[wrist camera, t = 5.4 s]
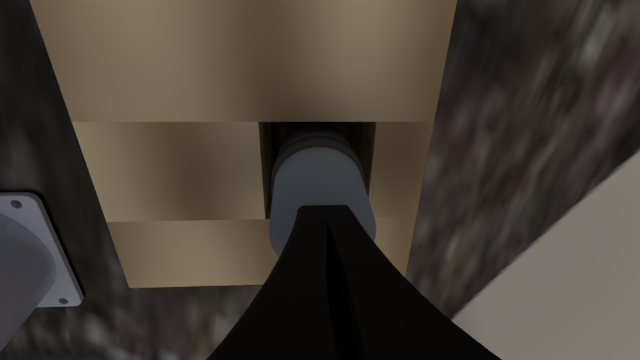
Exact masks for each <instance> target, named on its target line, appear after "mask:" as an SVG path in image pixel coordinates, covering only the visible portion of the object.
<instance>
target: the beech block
mask: <svg viewBox="0 0 640 360" xmlns="http://www.w3.org/2000/svg"><path fill="white" fill-rule="evenodd" d="M30 3H31V6H32V9H33V11H34V14H35V17H36V20H37V23H38V26H39V29H40V32H41V35H42V37H43V40H44V43H45V46H46V49H47V52H48V55H49V58H50V61H51V63H52V66H53V69H54V72H55V75H56V78H57V81H58V84H59V86H60V89H61V92H62V95H63V98H64V101H65V104H66V107H67V110H68V112H69V115H70V118H71V121H72V124H73V127H74V130H75V133H76V136H77V138H78V141H79V144H80V147H81V150H82V153H83V156H84V159H85V162H86V164H87V167H88V170H89V173H90V176H91V179H92V182H93V185H94V187H95V190H96V193H97V196H98V199H99V202H100V205H101V208H102V211H103V213H104V216H105V219H106V222H107V225H108V228H109V231H110V234H111V237H112V239H113V242H114V245H115V248H116V251H117V254H118V257H119V260H120V262H121V265H122V268H123V271H124V274H125V277H126V280H127V283H128V286H129V288H146V287H184V286H221V285H259V284H264V283H265V281H266V280H267V278H268V276H269V275H270V273H271V271H272V269H273V268H274V266H275V264H276V262H277V261H278V259H279V257H278V256H277V254H276V253H275V252H274V250H273V248H272V246H271V243H270V239H269V224H270V216H271V207H272V199H273V197H272V193H271V177H272V170H273V166H274V163H275V162H273V150H272V131H271V122H353V131H352V146H351V147H352V149H353V151H354V152H355V153H356V155H357V156H358V158H359V160H360V163H361V166H362V169H363V172H364V175H365V189H366V193H367V196H368V199H369V202H370V205H371V208H372V211H373V214H374V217H375V221H376V236H375V240H374V242H375V244H376V245H377V246H378V247H379V248H380V250H381V251H382V252H383V253H384V255H385V256H386V257H387V258H388V259H389V260H390V262H391V263H392V264H393V265H394V266H395V267H396V268H397V269H398V271H399V272H400V273H401V274H402V275H403V276H404V277H405V274H406V269H407V263H408V258H409V253H410V248H411V242H412V237H413V232H414V226H415V221H416V216H417V210H418V205H419V200H420V194H421V189H422V184H423V178H424V173H425V168H426V163H427V157H428V152H429V147H430V141H431V136H432V131H433V125H434V120H435V115H436V109H437V104H438V99H439V93H440V88H441V83H442V78H443V72H444V67H445V62H446V56H447V51H448V46H449V40H450V35H451V30H452V24H453V19H454V14H455V8H456V3H457V0H30Z"/></svg>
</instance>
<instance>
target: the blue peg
mask: <svg viewBox="0 0 640 360" xmlns="http://www.w3.org/2000/svg"><path fill="white" fill-rule="evenodd" d="M271 193H272V197H273V199H272V207H271V216H270V224H269V239H270V243H271V246H272V248H273V250H274V252H275V253H276V254H277V256H278V257H280V255H281V253H282V251H283V249H284V247H285V245H286V242H287V240H288V238H289V236H290V234H291V231H292V229H293V226H294V223H295V220H296V216H297V211H298V209H299V208H300V207H301V206H310V205H347V206H348V207H349V208H350V209H351V210H352V212H353V213H354V215H355V216H356V218H357V219H358V221H359V222H360V224H361V225H362V226H363V228H364V229H365V231H366V232H367V233H368V235H369V236H370V237H371V239H372V240H373V241H374V240H375V236H376V221H375V217H374V214H373V211H372V208H371V205H370V202H369V199H368V196H367V193H366V189H365V175H364V172H363V169H362V166H361V163H360V160H359V158H358V156H357V155H356V153H355V152H354V151H353V149H352V147H351V144H350V143H349V141H348V140H347V139H346V137H345V136H344V135H342V134H341V133H340V132H338V131H337V130H335V129H333V128H330V127H327V126H322V125H311V126H306V127H303V128H300V129H298V130H296V131H294V132H293V133H291V134H290V135H289V136H288V137H287V138H286V139H285V140H284V142H283V143H282V145H281V147H280V149H279V152H278V157H277V159H276V161H275V163H274V166H273V170H272V177H271Z"/></svg>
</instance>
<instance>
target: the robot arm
mask: <svg viewBox="0 0 640 360" xmlns="http://www.w3.org/2000/svg"><path fill="white" fill-rule="evenodd" d="M16 200H17V201H19V202H20V203H21V204H20V203H18V202H17V201H16ZM83 299H84V296H83V294H82V292H81V289H80V287H79V285H78V283H77V280H76V278H75V276H74V274H73V271H72V269H71V267H70V265H69V262H68V260H67V258H66V256H65V253H64V251H63V249H62V246H61V244H60V242H59V240H58V237H57V235H56V233H55V231H54V228H53V226H52V224H51V222H50V219H49V217H48V215H47V213H46V210H45V208H44V206H43V204H42V201H41V200H40V198H39V197H38V196H37V195H35V194H33V193H29V192H8V193H0V351H1V350H2V349H3V348H4V346H5V345H6V344H7V343H8V342H9V340H10V339H11V338H12V337H13V335H14V334H15V333H16V332H17V330H18V329H19V328H20V327H21V325H22V324H23V323H24V322H25V320H26V319H27V318H28V317H29V315H30V314H31V313H32V312H33V310H34V309H35V308H36V307H59V306H78V305H80V304H81V302H82V301H83ZM207 360H501V359H500V358H499V357H497V356H496V355H495V354H493V353H492V352H490V351H489V350H488V349H486V348H485V347H484V346H483V345H481V344H480V343H479V342H477V341H476V340H475V339H474V338H472V337H471V336H470V335H468V334H467V333H466V332H465V331H463V330H462V329H461V328H459V327H458V326H457V325H456V324H454V323H453V322H452V321H451V320H450V319H448V318H447V317H446V316H445V315H444V314H443V313H441V312H440V311H439V310H438V309H437V308H436V307H435V306H434V305H433V304H431V303H430V302H429V301H428V300H427V299H426V298H425V297H424V296H423V295H422V294H421V293H420V292H419V291H418V290H417V289H416V288H415V287H414V286H413V285H412V284H411V283H410V282H409V281H408V280H407V279H406V278H405V277H404V276H403V275H402V274H401V273H400V272H399V271H398V269H397V268H396V267H395V266H394V265H393V264H392V263H391V262H390V260H389V259H388V258H387V257H386V256H385V255H384V253H383V252H382V251H381V250H380V248H379V247H378V246H377V245H376V244H375V242H374V241H373V240H372V239H371V237H370V236H369V235H368V233H367V232H366V231H365V229H364V228H363V226H362V225H361V224H360V222H359V221H358V219H357V218H356V216H355V215H354V213H353V212H352V210H351V209H350V208H349V207H348V206H347V205H310V206H301V207H300V208H299V209H298V211H297V216H296V220H295V223H294V226H293V229H292V231H291V234H290V236H289V238H288V240H287V242H286V245H285V247H284V249H283V251H282V253H281V255H280V257H279V259H278V261H277V262H276V264H275V266H274V268H273V269H272V271H271V273H270V275H269V276H268V278H267V280H266V281H265V283H264V285H263V286H262V288H261V289H260V291H259V292H258V294H257V295H256V297H255V298H254V300H253V301H252V303H251V304H250V306H249V307H248V308H247V310H246V311H245V313H244V314H243V315H242V317H241V318H240V319H239V320H238V322H237V323H236V324H235V326H234V327H233V328H232V329H231V331H230V332H229V333H228V335H227V336H226V337H225V338H224V340H223V341H222V342H221V343H220V344H219V346H218V347H217V348H216V349H215V350H214V352H213V353H212V354H211V355H210V356H209V357H208V358H207Z"/></svg>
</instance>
